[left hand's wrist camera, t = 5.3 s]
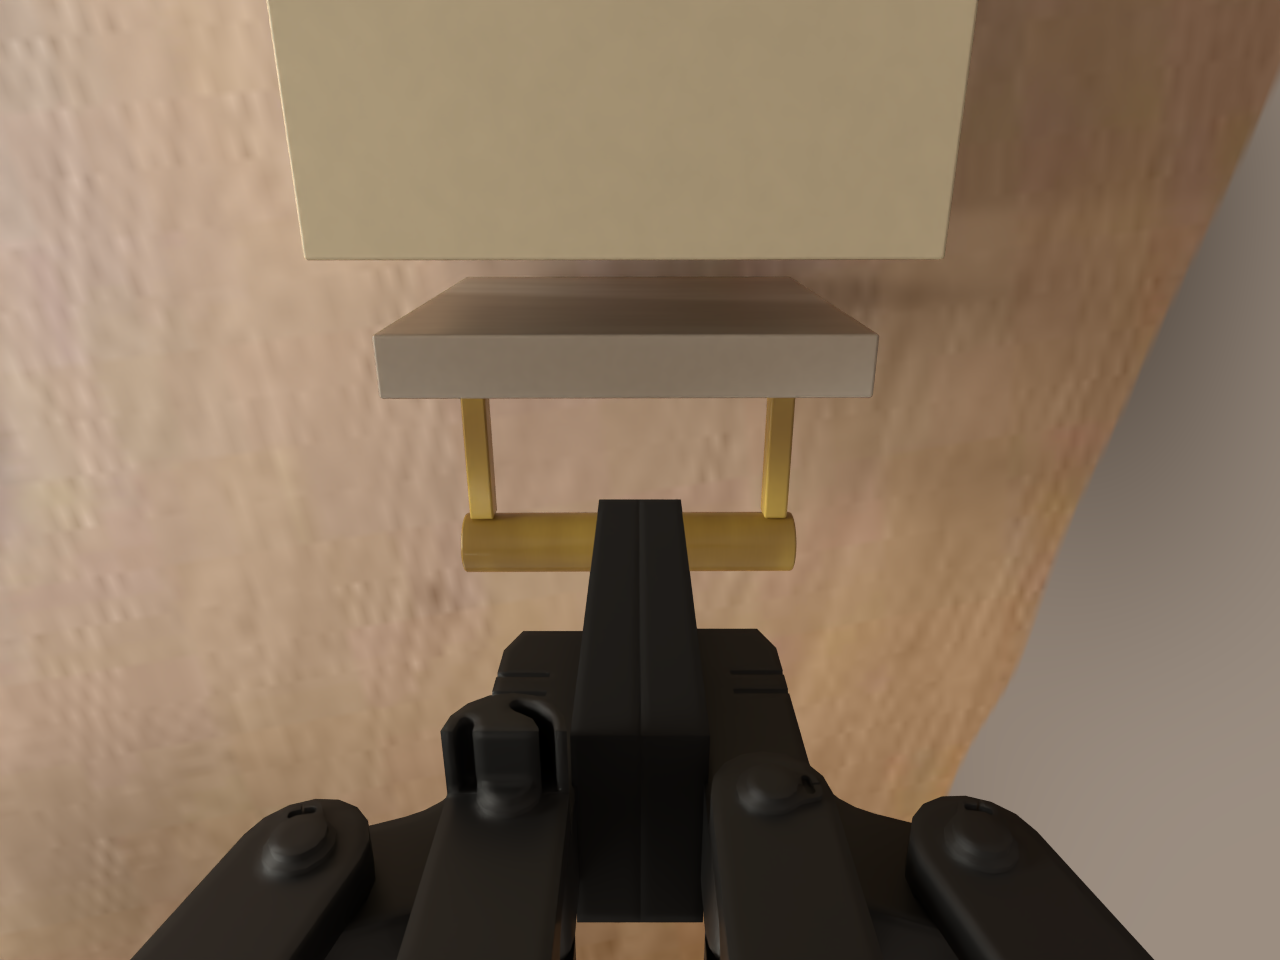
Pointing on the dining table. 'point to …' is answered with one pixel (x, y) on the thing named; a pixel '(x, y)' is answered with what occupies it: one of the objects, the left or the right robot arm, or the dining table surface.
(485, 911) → the left robot arm
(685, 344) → the drawer
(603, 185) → the cabinet
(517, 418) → the dining table surface
